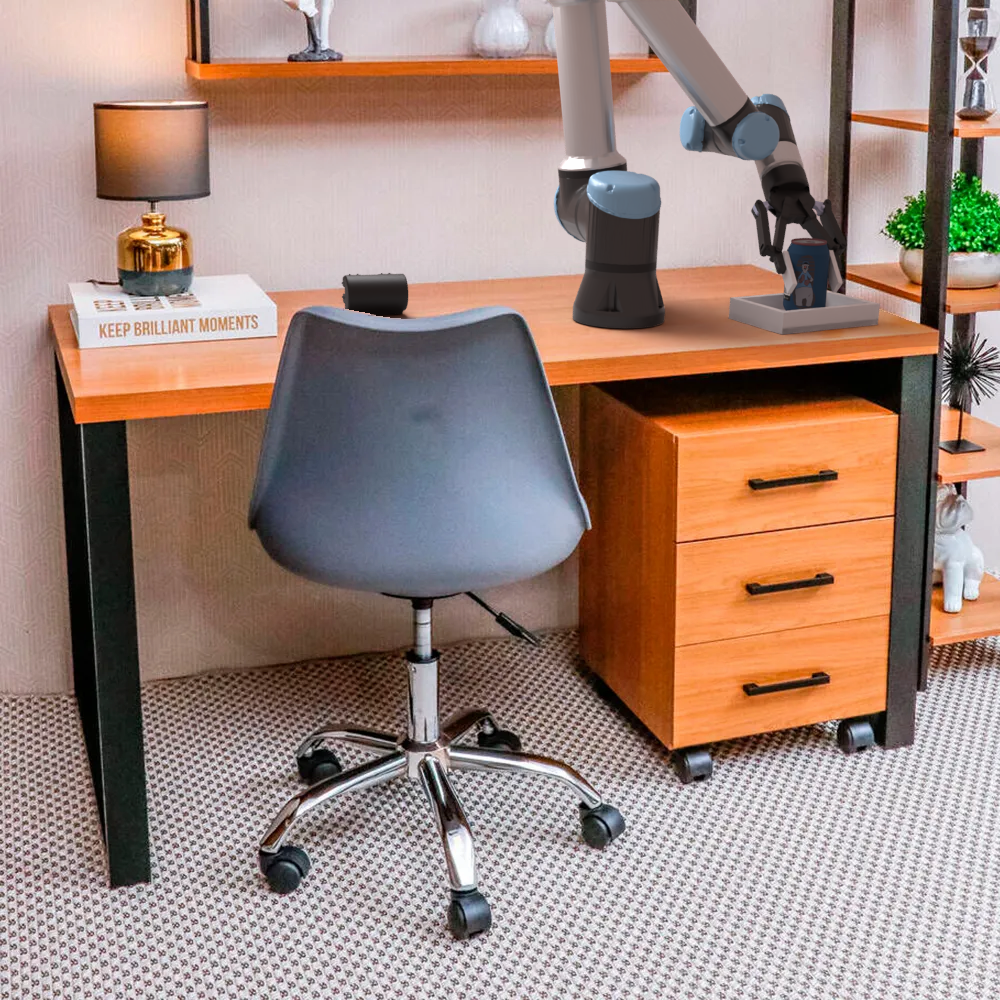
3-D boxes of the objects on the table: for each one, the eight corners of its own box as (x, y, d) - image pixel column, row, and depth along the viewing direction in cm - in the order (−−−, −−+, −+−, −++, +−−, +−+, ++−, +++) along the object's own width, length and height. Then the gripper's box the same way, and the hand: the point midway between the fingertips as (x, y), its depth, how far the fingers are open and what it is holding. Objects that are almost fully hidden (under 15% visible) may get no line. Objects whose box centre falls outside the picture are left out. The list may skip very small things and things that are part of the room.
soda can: (811, 308, 241) (817, 236, 237) (832, 316, 235) (838, 242, 231) (774, 310, 239) (779, 238, 235) (794, 318, 233) (800, 244, 229)
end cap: (348, 320, 232) (348, 278, 230) (340, 312, 238) (339, 271, 236) (408, 317, 235) (408, 276, 233) (398, 309, 241) (398, 269, 239)
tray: (781, 334, 227) (783, 312, 226) (728, 318, 239) (730, 297, 238) (877, 324, 236) (880, 303, 235) (821, 309, 248) (823, 289, 247)
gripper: (829, 189, 248) (862, 300, 238) (719, 190, 243) (749, 302, 233) (845, 161, 241) (881, 273, 231) (733, 161, 237) (764, 275, 227)
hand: (814, 288), depth 232 cm, fingers open, 7 cm apart
